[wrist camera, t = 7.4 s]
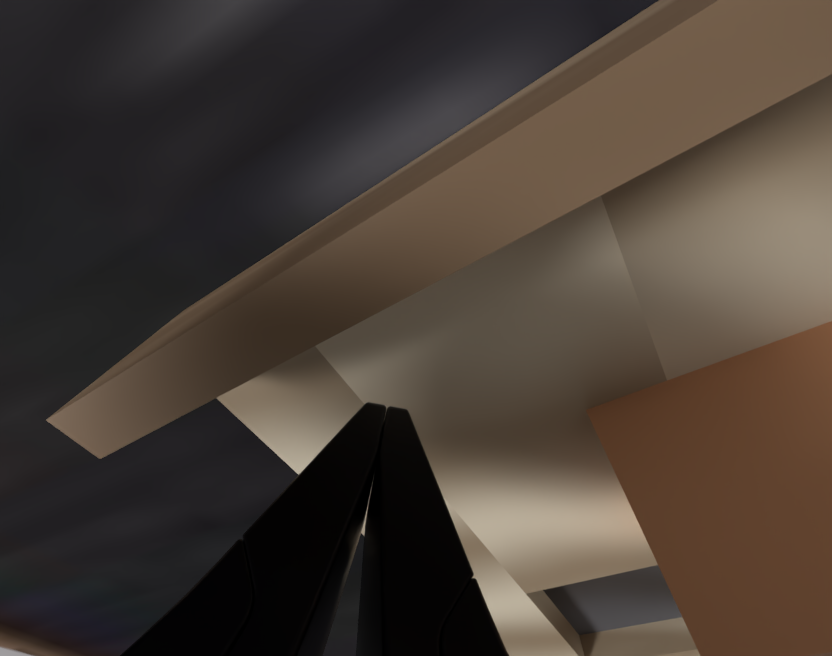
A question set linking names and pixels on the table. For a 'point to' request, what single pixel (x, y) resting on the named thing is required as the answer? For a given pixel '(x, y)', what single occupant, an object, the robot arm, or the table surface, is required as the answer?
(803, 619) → the rust block
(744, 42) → the tray
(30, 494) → the table surface
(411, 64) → the table surface
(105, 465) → the table surface
